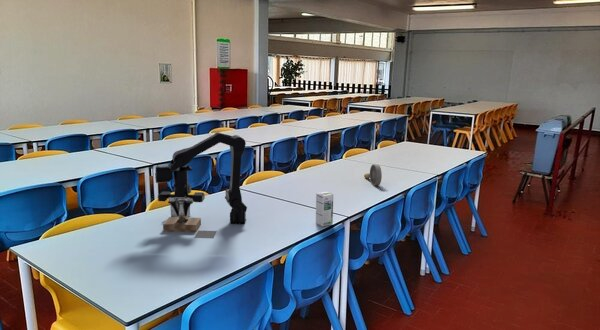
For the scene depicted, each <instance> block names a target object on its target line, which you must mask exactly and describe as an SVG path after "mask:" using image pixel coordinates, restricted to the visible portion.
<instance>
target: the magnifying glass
mask: <svg viewBox="0 0 600 330" xmlns="http://www.w3.org/2000/svg"><path fill="white" fill-rule="evenodd" d="M382 175H383V173H382V168H381V165H380V164H378V163H377V164H375V163H374V164H373V163H372V164H371V166H370V169H369V173H365V174H364V175H363V176H364V178H365V179H369V180H370V184H371V185H372V186H374V187H375V186H377V187H378V186H380V185H381V184H382V179H383V178H382V177H383V176H382Z"/></svg>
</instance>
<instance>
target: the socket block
mask: <svg viewBox="0 0 600 330" xmlns="http://www.w3.org/2000/svg"><path fill="white" fill-rule="evenodd" d="M201 226H202V218H201V217H190V216H189V217H186V223H179V217H171V216H169V217H167V219H166V220H165V221H164V223H163V224H162V230H163V231H162V232H172V233H173V232H174V233H176V232H177V233H197V232H198V230H200V227H201Z"/></svg>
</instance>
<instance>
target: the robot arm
mask: <svg viewBox="0 0 600 330" xmlns="http://www.w3.org/2000/svg"><path fill="white" fill-rule="evenodd" d="M220 143H221V144H223V145H226V146H229V150H230V155H231V160H230V161H231V163H230V181H229V183H230V184H229V187H228V189H225V196H224V199H225V201H226V203H227V204H228V205H229V207H230V208H231V209H230V213H229V222H230V225H246V223H247V218H246V217H247V216H246V215H247V209H248V206H247V205H246V204H245V203H244V202H243V199H242V197H243V196H242V192H241V189H240V187H241V172H242V171H241V169H242V157H243V155H244V152H245V149H246V145H247V144H246V143H247V142H246V140H245V139H244V138H243V137H241V136H240V135H237V134H234V135H229V134H224V133H222V132H219V131H217V132H215V133H214V134H212V135H210V136H209V137H207V138H205V139H203V140H201V141H200V142H198V143H196V144H194V145H193V146H190V147H186V148H182V149H180V150H176V151H174V152H173V154H172V159H171V160H170V162H168V164H167V166H166V165H165V166H164V165H162V166H155V172H154V178H155V179H154V180H155V183H156V184H161V183H163V184H164V183H170V182H171V181H172V180H173V188H174V192H173V193H171V191H161V192H160V193H159V194H158V195H157V201H158V202H166V201H167V203H168V204H171V205H172V207H173V208H174V210H175V212H176V214H177V216H179V212H178V203H177V200H178V199H187V201H186V202H185V216H187V214H188V210H189V207H190V208H191V205H192V204H193V203H203V202H204V201H205V198H206V197H205V196H206V195H205V193H204V192H202V191H201V192H194V194H191V193H192V185H191V184H190V183H189V175H188V172H191V171H193V169H192V167H191V166H190V165H189V163H191V162H192V160H193V159H195V157H197V156H198V155H200V154H202V153H204V152H206V151H207V150H209V149H211V148H213V147H215V146H216V145H218V144H220Z"/></svg>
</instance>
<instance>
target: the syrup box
mask: <svg viewBox="0 0 600 330" xmlns="http://www.w3.org/2000/svg"><path fill="white" fill-rule="evenodd" d="M315 195H316V196H315V224H317V225H319V226H321V227H327V226H330V225H331V226H332V225H333V220H334V219H333V218H334V215H333V214H334V194H333V193H331V192H329V191H323V192H317V193H315Z"/></svg>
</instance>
